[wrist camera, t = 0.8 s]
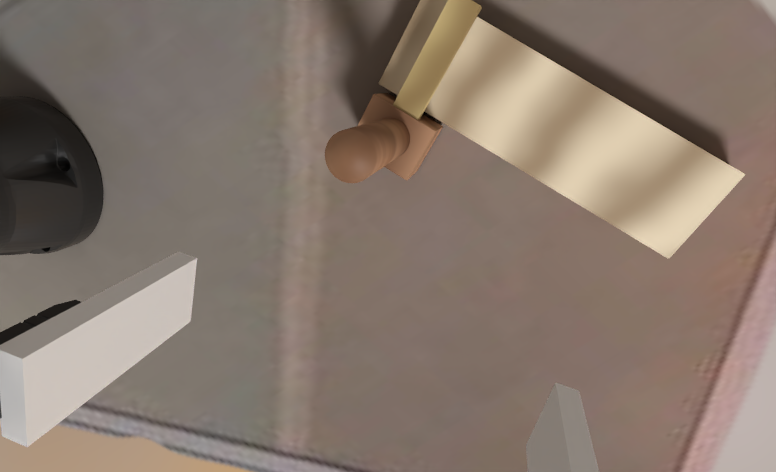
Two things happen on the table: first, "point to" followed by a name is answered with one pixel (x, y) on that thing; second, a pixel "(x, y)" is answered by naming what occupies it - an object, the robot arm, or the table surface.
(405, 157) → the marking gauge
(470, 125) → the board
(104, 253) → the table surface
